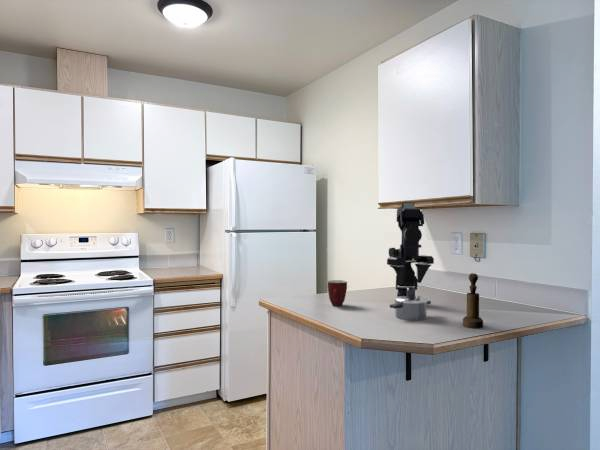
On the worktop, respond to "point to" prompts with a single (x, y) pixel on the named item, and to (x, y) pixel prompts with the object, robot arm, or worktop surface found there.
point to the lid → (411, 297)
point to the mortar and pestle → (473, 306)
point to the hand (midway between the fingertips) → (410, 283)
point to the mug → (337, 291)
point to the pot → (410, 311)
